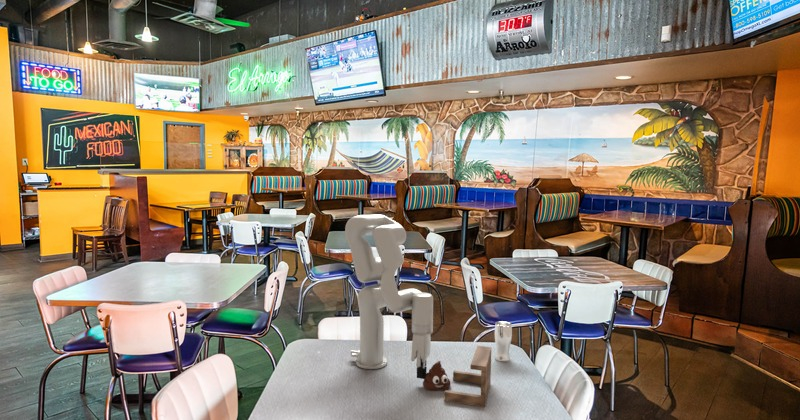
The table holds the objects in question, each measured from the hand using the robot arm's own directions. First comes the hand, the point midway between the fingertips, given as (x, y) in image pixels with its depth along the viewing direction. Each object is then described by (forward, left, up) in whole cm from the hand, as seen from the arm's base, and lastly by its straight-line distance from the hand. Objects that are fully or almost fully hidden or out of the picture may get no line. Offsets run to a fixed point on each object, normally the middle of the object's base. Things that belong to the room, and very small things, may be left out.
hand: (421, 377), depth 160 cm
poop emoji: (+6, 0, -3) cm, 6 cm away
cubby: (+16, 0, -3) cm, 16 cm away
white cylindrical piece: (+26, +34, -3) cm, 43 cm away
